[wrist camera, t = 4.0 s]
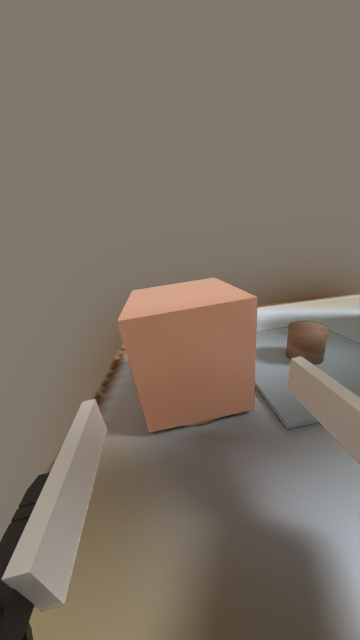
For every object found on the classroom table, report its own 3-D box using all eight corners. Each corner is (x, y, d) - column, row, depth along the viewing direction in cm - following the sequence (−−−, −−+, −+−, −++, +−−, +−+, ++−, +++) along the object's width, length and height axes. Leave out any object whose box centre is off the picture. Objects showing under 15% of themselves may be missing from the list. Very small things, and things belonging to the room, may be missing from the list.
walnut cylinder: (296, 344, 26) (299, 318, 24) (329, 356, 23) (335, 327, 21) (279, 355, 24) (281, 328, 23) (312, 369, 21) (317, 339, 19)
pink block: (218, 353, 27) (214, 277, 22) (254, 409, 17) (257, 297, 13) (150, 367, 26) (132, 290, 22) (148, 433, 17) (117, 321, 12)
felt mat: (311, 325, 32) (311, 322, 32) (449, 391, 17) (452, 386, 17) (222, 342, 30) (221, 338, 30) (287, 429, 16) (287, 424, 15)
